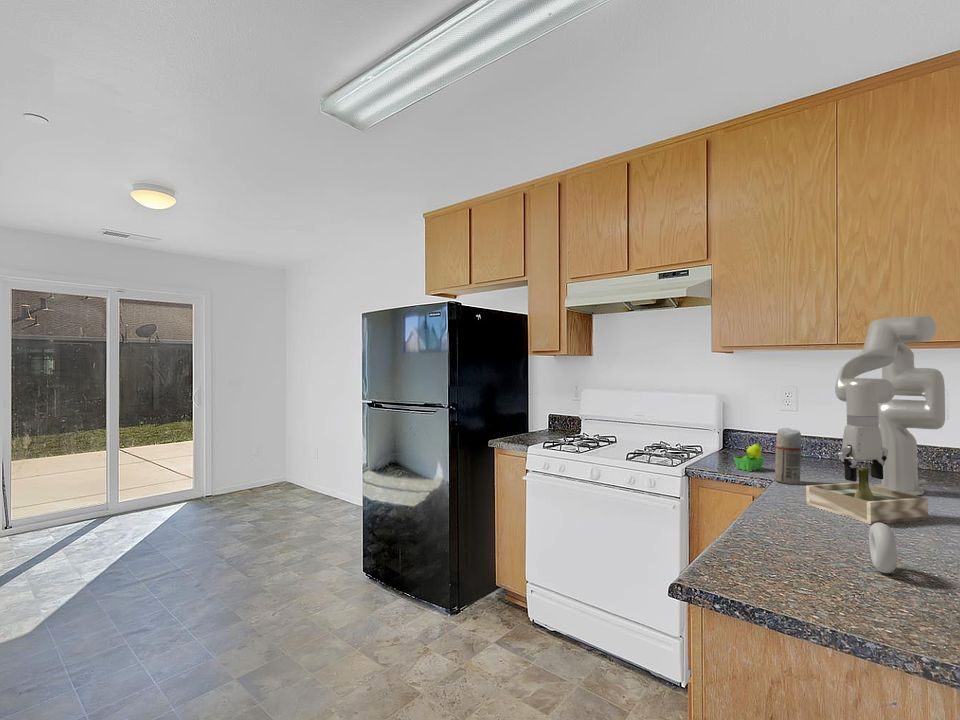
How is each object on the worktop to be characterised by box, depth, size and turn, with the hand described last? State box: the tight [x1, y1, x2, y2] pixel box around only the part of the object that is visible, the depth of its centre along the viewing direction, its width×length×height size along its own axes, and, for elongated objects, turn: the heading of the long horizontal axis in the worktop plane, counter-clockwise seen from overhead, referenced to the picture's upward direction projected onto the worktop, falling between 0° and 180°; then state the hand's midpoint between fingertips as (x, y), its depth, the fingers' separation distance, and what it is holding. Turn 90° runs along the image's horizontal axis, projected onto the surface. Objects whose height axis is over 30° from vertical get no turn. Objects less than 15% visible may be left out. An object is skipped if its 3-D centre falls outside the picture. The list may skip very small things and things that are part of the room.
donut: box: [868, 523, 898, 574], centre depth 102 cm, size 10×4×10 cm, turn 151°
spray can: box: [774, 427, 802, 485], centre depth 183 cm, size 8×8×20 cm
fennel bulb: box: [854, 467, 875, 501], centre depth 145 cm, size 6×5×12 cm
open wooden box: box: [805, 481, 929, 525], centre depth 144 cm, size 20×20×6 cm
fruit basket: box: [733, 443, 766, 472], centre depth 206 cm, size 11×9×11 cm
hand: (864, 479), depth 145 cm, fingers open, 9 cm apart
